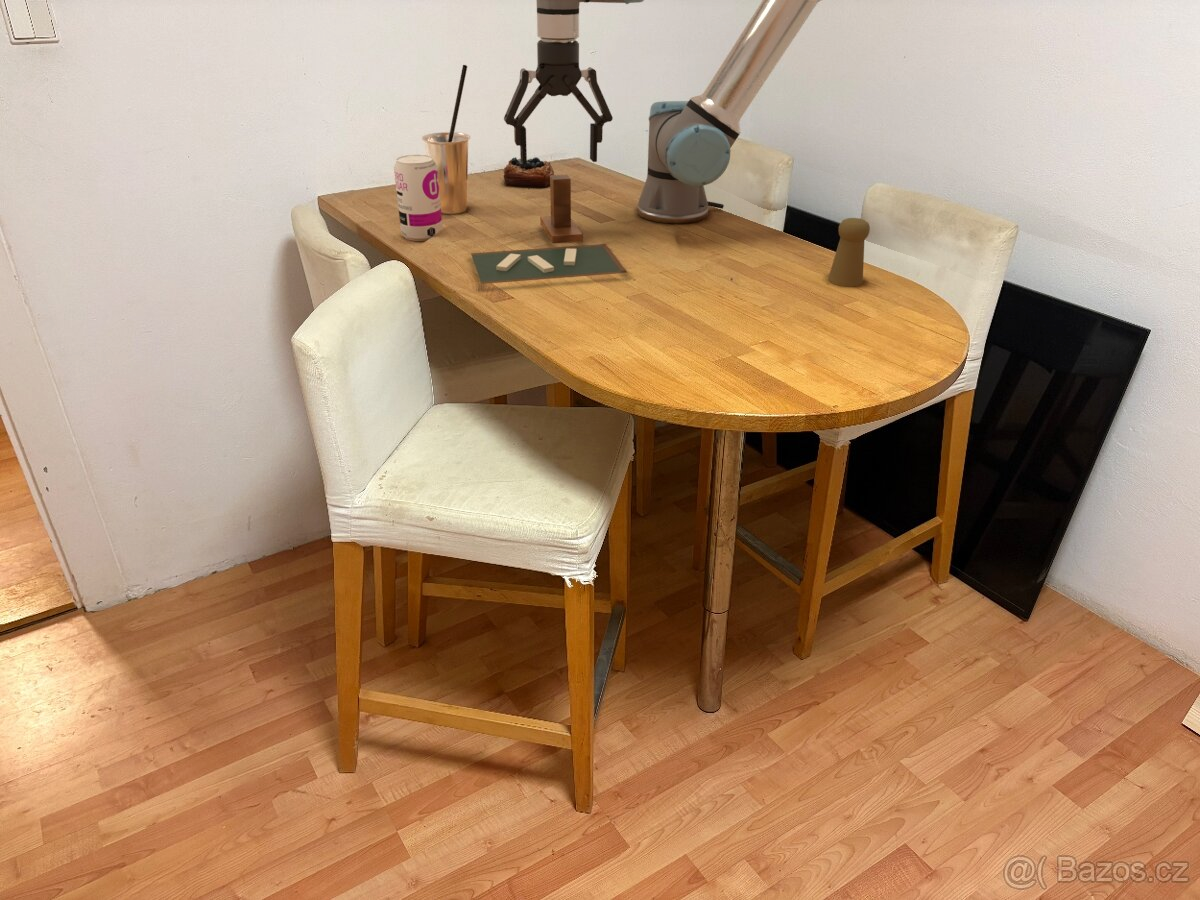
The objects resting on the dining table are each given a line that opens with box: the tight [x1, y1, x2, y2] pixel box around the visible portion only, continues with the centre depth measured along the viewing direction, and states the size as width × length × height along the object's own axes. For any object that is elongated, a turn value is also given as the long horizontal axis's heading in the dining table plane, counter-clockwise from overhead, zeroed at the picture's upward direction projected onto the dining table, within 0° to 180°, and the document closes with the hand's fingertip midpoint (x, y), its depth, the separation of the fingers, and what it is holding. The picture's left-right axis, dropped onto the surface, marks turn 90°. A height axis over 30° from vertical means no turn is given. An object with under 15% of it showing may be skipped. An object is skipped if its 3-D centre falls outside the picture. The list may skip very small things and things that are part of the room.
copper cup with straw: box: [421, 64, 471, 215], centre depth 180 cm, size 11×11×30 cm
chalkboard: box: [470, 243, 628, 285], centre depth 158 cm, size 26×16×1 cm, turn 104°
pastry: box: [503, 156, 555, 189], centre depth 207 cm, size 11×12×6 cm
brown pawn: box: [827, 217, 871, 288], centre depth 152 cm, size 6×6×11 cm
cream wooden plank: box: [528, 255, 554, 273], centre depth 156 cm, size 7×2×1 cm, turn 29°
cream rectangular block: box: [496, 254, 521, 271], centre depth 156 cm, size 7×2×1 cm, turn 164°
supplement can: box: [393, 154, 444, 242], centre depth 169 cm, size 8×8×15 cm
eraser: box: [539, 174, 584, 244], centre depth 170 cm, size 6×13×12 cm, turn 14°
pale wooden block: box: [564, 249, 577, 266], centre depth 159 cm, size 7×2×1 cm, turn 179°
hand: (558, 161), depth 165 cm, fingers open, 13 cm apart
